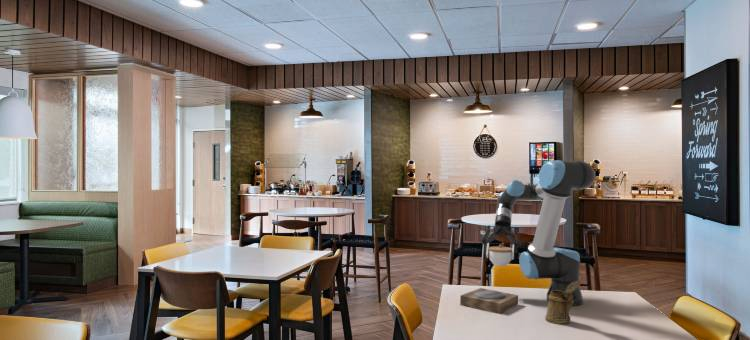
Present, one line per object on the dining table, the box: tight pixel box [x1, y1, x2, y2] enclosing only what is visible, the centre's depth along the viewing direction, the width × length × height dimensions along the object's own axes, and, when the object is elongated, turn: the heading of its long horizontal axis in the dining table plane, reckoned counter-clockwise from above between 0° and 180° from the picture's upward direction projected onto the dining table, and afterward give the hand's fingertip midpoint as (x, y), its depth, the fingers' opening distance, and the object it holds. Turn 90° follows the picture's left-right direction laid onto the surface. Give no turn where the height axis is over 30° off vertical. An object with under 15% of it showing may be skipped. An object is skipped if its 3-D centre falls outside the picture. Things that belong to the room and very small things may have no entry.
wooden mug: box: [544, 279, 581, 325], centre depth 195 cm, size 9×14×18 cm, turn 28°
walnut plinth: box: [459, 287, 519, 314], centre depth 217 cm, size 18×18×4 cm
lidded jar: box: [488, 244, 512, 267], centre depth 234 cm, size 11×11×9 cm
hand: (499, 257), depth 231 cm, fingers closed on lidded jar, 11 cm apart
